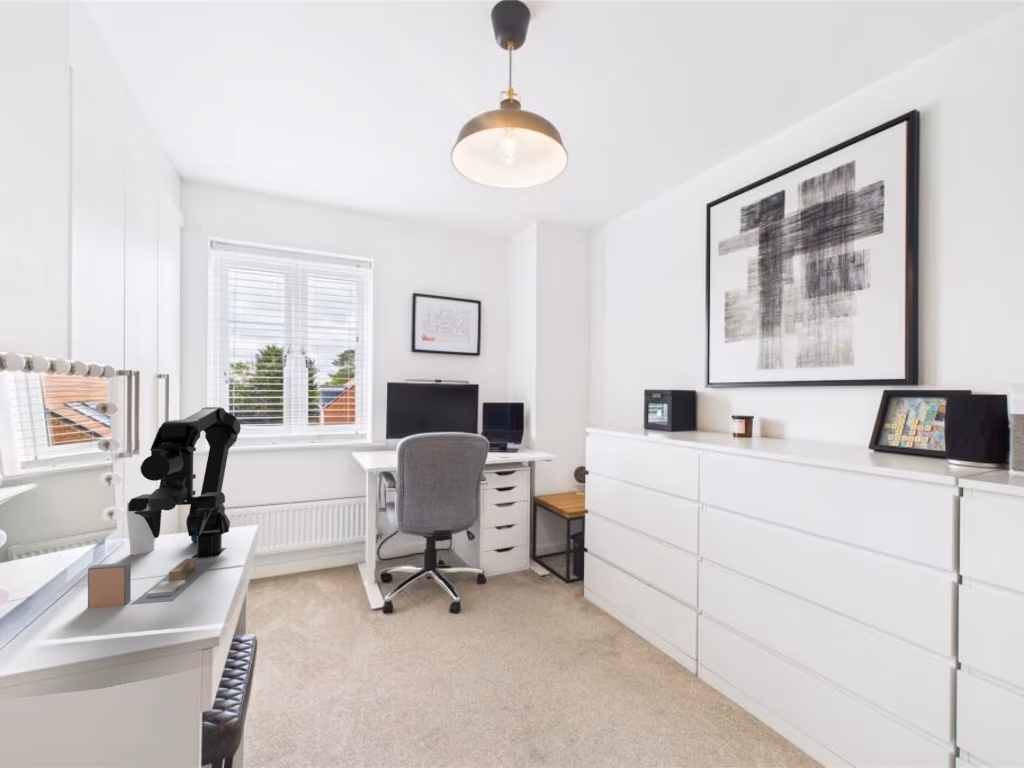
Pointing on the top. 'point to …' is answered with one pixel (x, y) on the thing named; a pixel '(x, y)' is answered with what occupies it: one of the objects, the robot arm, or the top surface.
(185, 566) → the turner
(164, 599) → the mat
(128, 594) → the tile
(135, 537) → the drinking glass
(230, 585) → the top surface
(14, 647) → the top surface
